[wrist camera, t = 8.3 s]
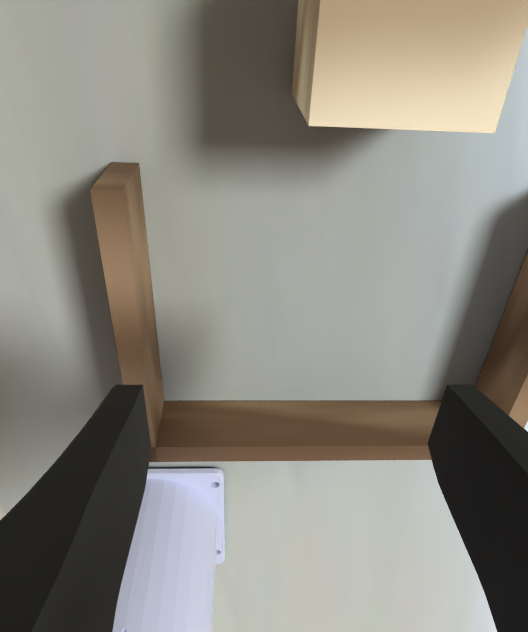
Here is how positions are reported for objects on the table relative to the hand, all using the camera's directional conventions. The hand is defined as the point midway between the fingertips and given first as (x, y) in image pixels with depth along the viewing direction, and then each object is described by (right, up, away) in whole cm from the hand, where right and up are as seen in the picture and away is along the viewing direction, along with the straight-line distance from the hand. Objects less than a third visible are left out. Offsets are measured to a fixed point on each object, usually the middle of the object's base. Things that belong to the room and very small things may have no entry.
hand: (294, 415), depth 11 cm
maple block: (+3, +12, +4) cm, 13 cm away
